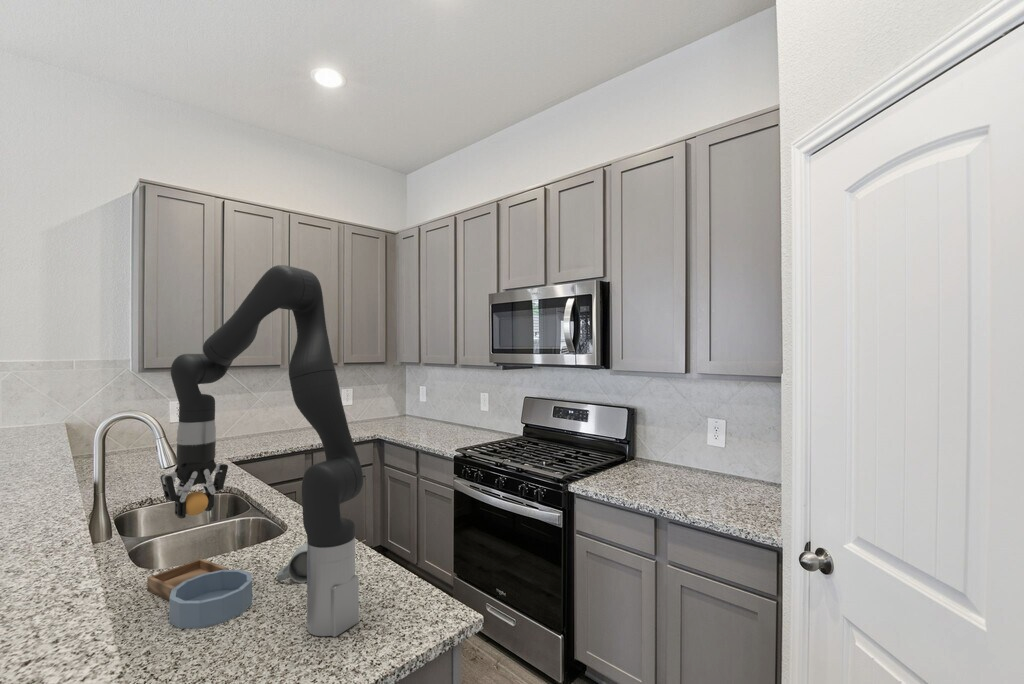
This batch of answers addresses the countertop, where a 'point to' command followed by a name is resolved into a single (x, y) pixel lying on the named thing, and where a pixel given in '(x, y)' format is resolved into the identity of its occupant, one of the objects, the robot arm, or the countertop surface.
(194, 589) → the faceted grey bowl
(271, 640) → the countertop surface
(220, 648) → the countertop surface
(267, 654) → the countertop surface
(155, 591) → the tray
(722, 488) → the countertop surface
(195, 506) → the ball
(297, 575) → the ceramic mug
